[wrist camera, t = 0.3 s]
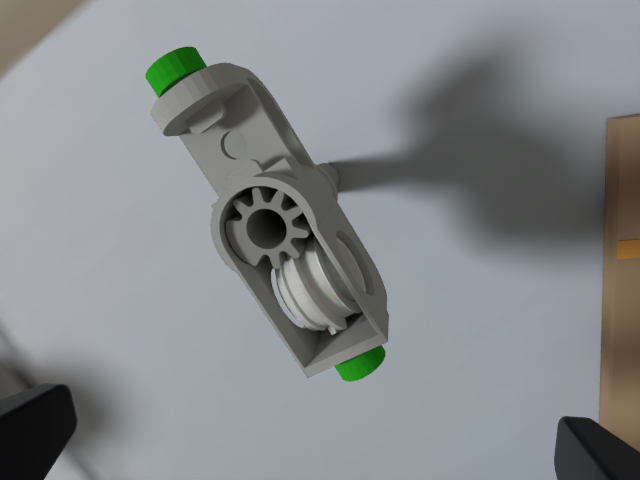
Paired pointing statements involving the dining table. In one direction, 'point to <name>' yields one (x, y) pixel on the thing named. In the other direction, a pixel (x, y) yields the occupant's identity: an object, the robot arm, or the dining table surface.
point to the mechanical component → (276, 214)
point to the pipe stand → (621, 283)
